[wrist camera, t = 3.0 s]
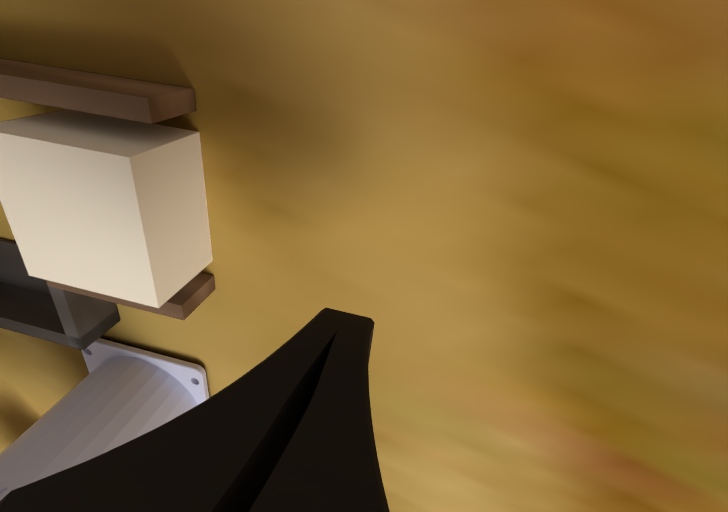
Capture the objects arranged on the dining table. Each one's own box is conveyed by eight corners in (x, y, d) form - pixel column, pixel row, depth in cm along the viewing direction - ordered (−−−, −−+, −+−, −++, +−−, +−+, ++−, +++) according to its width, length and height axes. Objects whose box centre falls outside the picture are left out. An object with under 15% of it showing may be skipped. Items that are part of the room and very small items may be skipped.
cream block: (214, 258, 19) (158, 308, 16) (104, 234, 20) (29, 275, 17) (202, 130, 16) (129, 157, 13) (72, 108, 17) (-28, 127, 14)
